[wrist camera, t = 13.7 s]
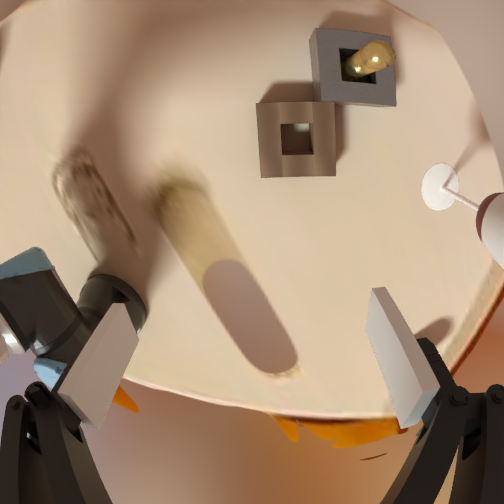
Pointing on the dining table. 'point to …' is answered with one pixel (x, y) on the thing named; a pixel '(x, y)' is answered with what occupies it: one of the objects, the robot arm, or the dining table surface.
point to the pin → (367, 60)
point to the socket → (329, 70)
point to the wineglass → (488, 213)
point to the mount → (296, 163)
